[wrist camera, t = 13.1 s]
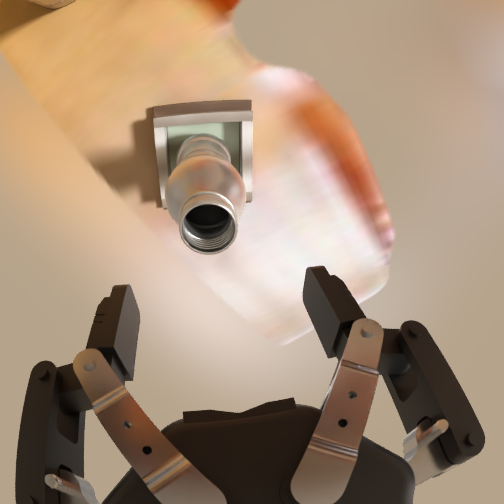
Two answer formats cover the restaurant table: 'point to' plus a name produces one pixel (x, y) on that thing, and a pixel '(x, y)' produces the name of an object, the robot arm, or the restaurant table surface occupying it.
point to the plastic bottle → (205, 194)
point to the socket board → (204, 121)
